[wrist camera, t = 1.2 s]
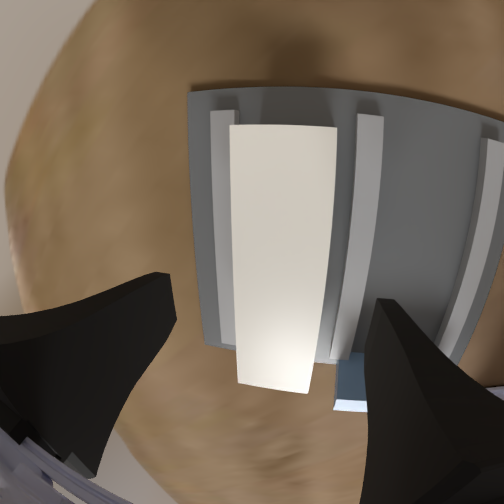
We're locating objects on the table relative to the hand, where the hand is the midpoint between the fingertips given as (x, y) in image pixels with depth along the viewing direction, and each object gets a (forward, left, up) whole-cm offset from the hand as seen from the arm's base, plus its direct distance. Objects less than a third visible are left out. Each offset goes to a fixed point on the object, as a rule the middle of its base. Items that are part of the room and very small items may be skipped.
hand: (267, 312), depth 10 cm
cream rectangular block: (0, 0, -6) cm, 6 cm away
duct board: (-3, 0, -7) cm, 8 cm away
